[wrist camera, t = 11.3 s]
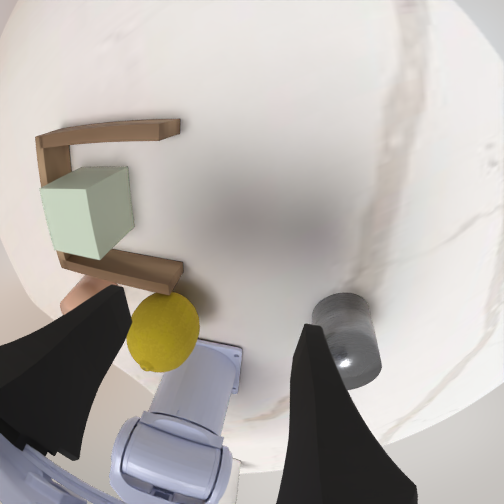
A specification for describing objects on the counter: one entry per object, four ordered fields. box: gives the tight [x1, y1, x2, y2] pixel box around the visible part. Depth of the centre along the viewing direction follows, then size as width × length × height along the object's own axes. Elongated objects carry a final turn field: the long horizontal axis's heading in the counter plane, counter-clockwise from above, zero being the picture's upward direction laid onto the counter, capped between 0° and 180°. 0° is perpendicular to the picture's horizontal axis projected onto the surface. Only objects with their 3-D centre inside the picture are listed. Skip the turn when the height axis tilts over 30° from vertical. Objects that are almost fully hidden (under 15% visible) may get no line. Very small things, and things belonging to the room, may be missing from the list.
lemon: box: [126, 292, 200, 372], centre depth 20 cm, size 6×6×8 cm
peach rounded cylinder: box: [60, 275, 117, 315], centre depth 23 cm, size 4×4×5 cm
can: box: [312, 293, 382, 390], centre depth 19 cm, size 5×5×6 cm
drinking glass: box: [218, 459, 241, 504], centre depth 46 cm, size 7×7×15 cm
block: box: [40, 167, 134, 260], centre depth 17 cm, size 5×5×5 cm
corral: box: [35, 119, 183, 296], centre depth 18 cm, size 12×12×3 cm
